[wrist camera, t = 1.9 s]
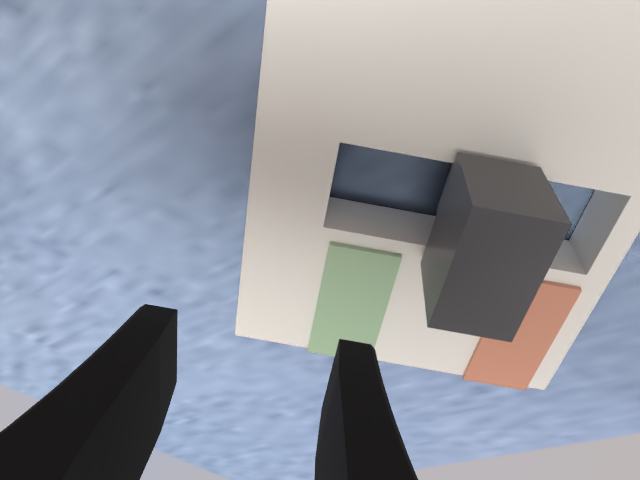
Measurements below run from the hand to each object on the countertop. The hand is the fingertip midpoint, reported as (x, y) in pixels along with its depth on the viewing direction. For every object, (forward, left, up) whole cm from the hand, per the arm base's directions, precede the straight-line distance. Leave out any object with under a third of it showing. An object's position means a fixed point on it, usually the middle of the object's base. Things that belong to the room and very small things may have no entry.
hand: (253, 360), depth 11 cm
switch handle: (-6, 0, -9) cm, 11 cm away
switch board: (-4, 0, -9) cm, 10 cm away
